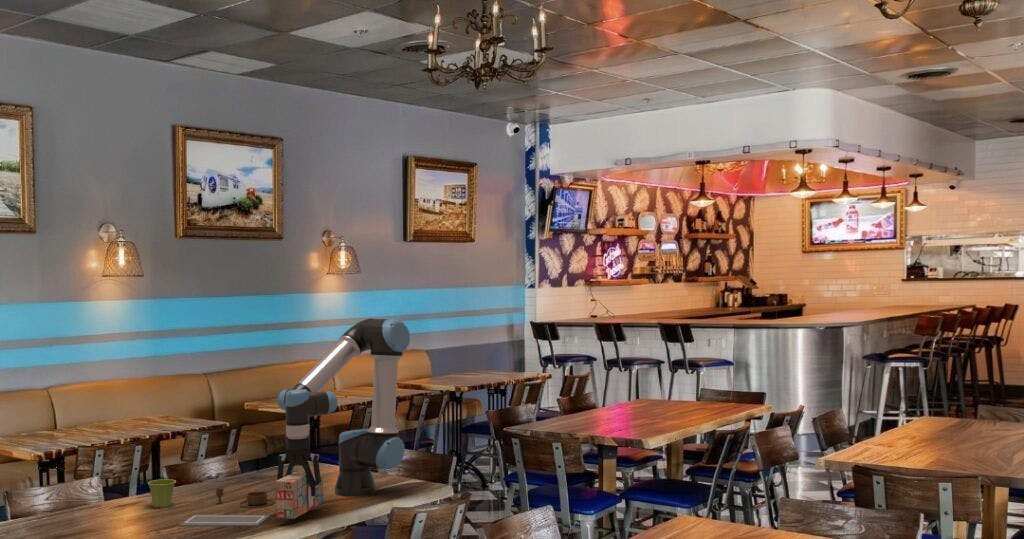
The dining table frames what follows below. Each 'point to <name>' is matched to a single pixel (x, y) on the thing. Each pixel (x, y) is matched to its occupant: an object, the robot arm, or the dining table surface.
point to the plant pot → (161, 492)
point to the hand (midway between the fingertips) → (299, 505)
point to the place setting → (250, 499)
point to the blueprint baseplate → (224, 520)
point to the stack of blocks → (295, 495)
